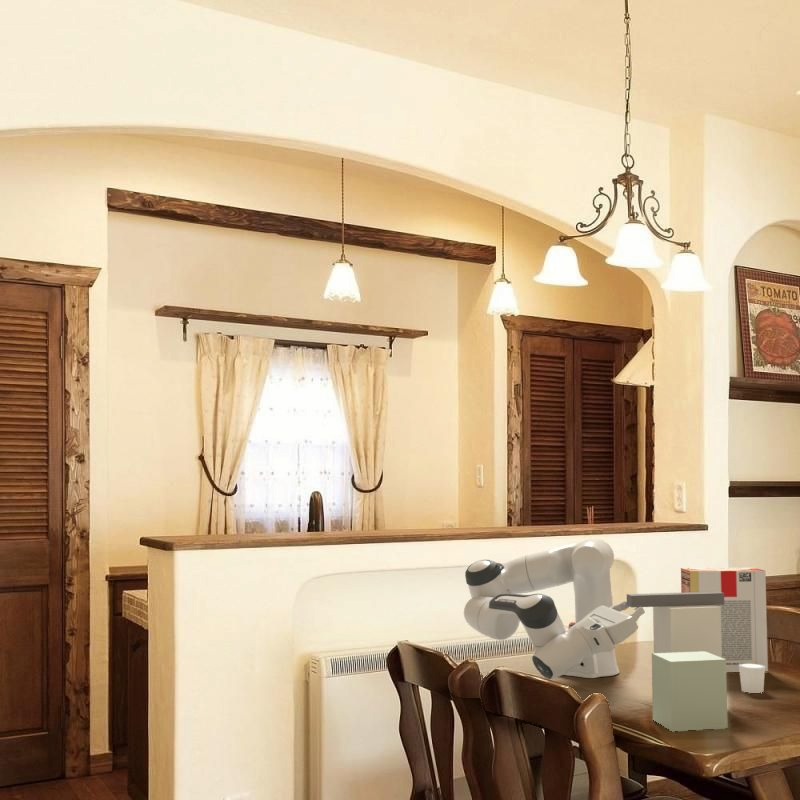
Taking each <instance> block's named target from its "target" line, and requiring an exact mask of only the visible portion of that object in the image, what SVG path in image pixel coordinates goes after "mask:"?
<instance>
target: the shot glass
mask: <svg viewBox="0 0 800 800" xmlns="http://www.w3.org/2000/svg"><path fill="white" fill-rule="evenodd" d="M739 672H740V673H739V678H740V679H739V680H740V688H741V692H743V691H744V692H743V693H745V692H749V693H748V694H750V693H760V692H761V694H763V693H764V691H765V690H764V688H765V687H764V686H765V675H766V672H765V666H764V665H760V664H754V663H742V664H739ZM762 692H763V693H762Z"/></svg>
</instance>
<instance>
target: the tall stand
mask: <svg viewBox="0 0 800 800" xmlns="http://www.w3.org/2000/svg"><path fill="white" fill-rule="evenodd" d="M652 614H653V616H652V619H653V621H652V623H653V625H652V626H653V627H652V628H653V653H672V652H698V651H706V652H708V653H711V654H713V655H716V656H718V657H721V658H722V642H721V607H719V606H715V605H698V606H665V607H652Z"/></svg>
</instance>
